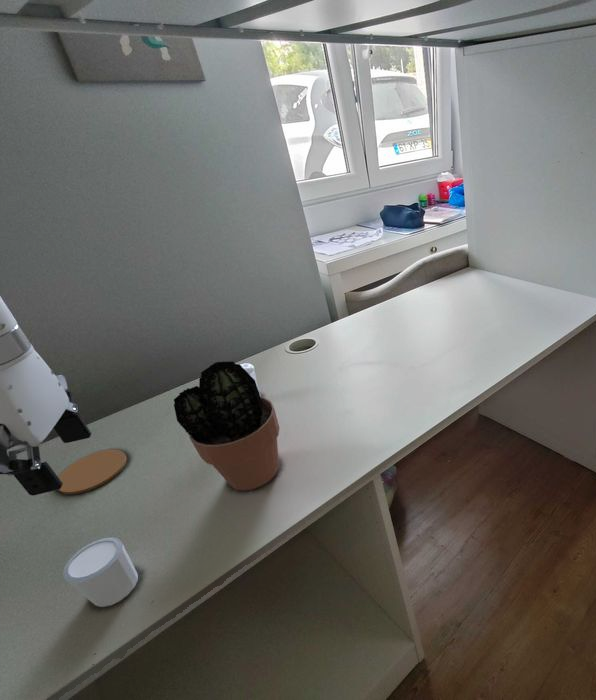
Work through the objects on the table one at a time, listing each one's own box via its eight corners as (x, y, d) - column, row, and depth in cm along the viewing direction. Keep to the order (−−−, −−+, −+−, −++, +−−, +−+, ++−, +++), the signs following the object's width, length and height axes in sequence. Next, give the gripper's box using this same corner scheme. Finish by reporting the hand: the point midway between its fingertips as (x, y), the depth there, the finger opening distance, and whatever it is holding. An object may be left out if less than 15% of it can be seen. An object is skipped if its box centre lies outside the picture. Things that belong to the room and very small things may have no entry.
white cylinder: (137, 557, 69) (116, 528, 66) (148, 586, 65) (127, 557, 61) (83, 588, 65) (58, 559, 62) (91, 622, 61) (65, 592, 57)
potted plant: (261, 439, 92) (221, 333, 79) (307, 461, 85) (272, 350, 73) (199, 484, 82) (141, 371, 69) (246, 513, 75) (193, 395, 63)
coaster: (46, 501, 80) (44, 499, 79) (71, 460, 89) (69, 457, 88) (116, 484, 83) (115, 482, 82) (133, 445, 92) (132, 443, 91)
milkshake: (237, 406, 102) (222, 370, 96) (250, 392, 106) (237, 357, 101) (255, 407, 101) (241, 371, 96) (267, 393, 105) (255, 358, 100)
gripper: (-16, 324, 55) (58, 429, 64) (-120, 403, 41) (-8, 525, 49) (56, 312, 57) (117, 416, 65) (-20, 384, 43) (71, 504, 51)
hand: (64, 463), depth 57 cm, fingers open, 9 cm apart
